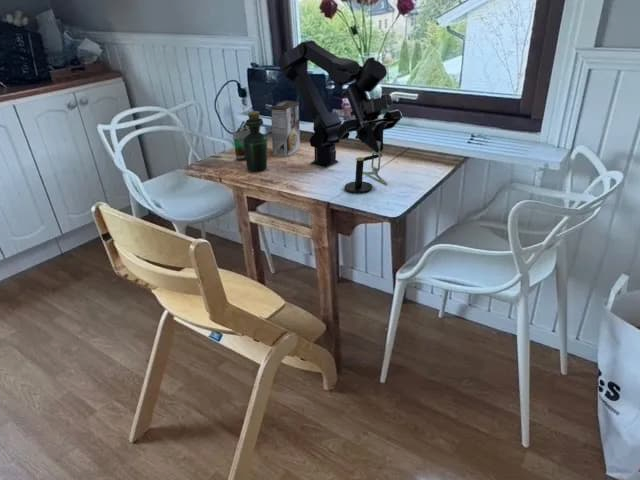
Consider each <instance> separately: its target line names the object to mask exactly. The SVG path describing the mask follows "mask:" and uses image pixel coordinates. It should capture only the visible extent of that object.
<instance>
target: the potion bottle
mask: <svg viewBox="0 0 640 480" xmlns="http://www.w3.org/2000/svg"><path fill="white" fill-rule="evenodd" d="M260 113H261V112H260V111H258V110H252V111H248V112H247V116H248V119H246V120H245V123H246V124H245V125H246V126H248V127H249V129H250V134H248V135H247V136H246V137H244V140H243V144H244V151H245V157H246V160H245V163H246V169H247V171H248V172H251V173H260V172H263V171H266V169H267V167H268V166H267V164H268V163H267V162H268V141H269V140H268V137H267V136H266V135H265V134H264V133H262V132H260V129H261V126H263V125H264V121H263V119H262V118H260Z"/></svg>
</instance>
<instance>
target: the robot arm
mask: <svg viewBox="0 0 640 480" xmlns="http://www.w3.org/2000/svg"><path fill="white" fill-rule="evenodd" d="M309 62H310V63H312V64H314V65H315V66H317V68H320V69H322V70H323V71H324V72H326V73H327V74H328V78H329V80H330V81H332V82H333V84H334V85H336V86H337V87H343V86H346V85H348V86H347V87H345V88H343V91H342V94H341V97H340V98H341V100H345V99H347V100H348V103H349V106H350V108H351V112H350V116H351V117H354V118H352V119H348V120H344V121H342V120H341V118H340V117H339V114H338V112H337V111H332V112H331V111H329V110H328V108H327V106H326V105H325V103H324V101H323V100H322V97H321V95H320V94H319V92H318V90H317V88H316V85H315V84H314V82H313V81H312V78H311V77H310V75H309V73H308V71H309V70H308V69H309ZM278 67H279V69H280V71H281V73H282V74H283V75H284V77H285V78H286V79H288V80H290V81H291V82H293V84H294V85H295V87H296V89H297V91H298V92H299V94H300V96H301V98H302V100H303V102H304V104H305V106H306V109H307V110H308V112H309V114H310V115H311V118H312V119H313V127H312V129H313V132H314V133H313V135H312V136H311V137H310V138H309V145H310V147H312V148H314V160H313V161H311V162H310V164H311V165H313V166H318V167H321V168H328V167H330V166H332V165H335V164H337V163H338V162H339V161H338V160H337V159H336V158H337V150H336V144H340V143H341V142H340V141H344V140H347V139H349V137H350V135H351V134H350V133H352V132H356V136H355V138H354V139H355V140H359V141H360V142H362V143H363V144H365V145H366V146H368V147H369V148H370V149H371V150H372V151H375V152H376V153H377V152H378V151H379V148H378V145H377V142H376V141H380V142H381V144H380V153H381V152H383V151H384V131H386V130H391V129H393V128H394V127H396V125H397V124H398V122H400V121H401V119H402V118H403V114H402V112H401V110H400V109H393V110H388V109H389V107H390V106H392V105H393V98H392V96H391V93H389V92H388V93H384V94H381V96H380V97H376V98H373V97H371V96H370V94H369V93H371V92H373V91H374V90H375V89H376V88H377V87H378V85H380V83H381V82H382V81H383V80H384V79H385V78H386V76H387V73H388V72H387V68H386V66H385V64H383V63H382V62H380V61H378V60H376V59H375V57H374V56H373V57H372V56H371V57H367V59H366V60H365V62H364V63H363V65H360V63H359V62H358V61H357V60H354V59H351V58H347V57H346V58H345V57H339V56H337V55H335V54H334V53H332V52H330V50H327V49H325V48H323V46H320V45H319V44H317V43H316V41H315V40H312V39H309V40H305V41H301V42H300V43H298V44H297V45H296V46H295V47H293V48H291V49H289V50H287V51H286V52H282V53H281V54H280V57H279V59H278ZM385 110H388V111H386V112H385V114H384V115H383V116H382V117H380V116H381V115H382V111H385Z"/></svg>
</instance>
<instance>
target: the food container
mask: <svg viewBox="0 0 640 480" xmlns="http://www.w3.org/2000/svg"><path fill="white" fill-rule="evenodd" d="M245 124H246V122H243V125H242V126H241V127H239V128H238V129H237V131H236V132H235V131H232V140H233V143H234V150H235V151H234V152H235V161H237V162H241V161H246V157H245V151H244V144H243V140H244V137H246V136H247V135H248V134H250V129H249V127H248V126H246V125H245Z"/></svg>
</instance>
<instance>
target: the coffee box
mask: <svg viewBox="0 0 640 480" xmlns="http://www.w3.org/2000/svg"><path fill="white" fill-rule="evenodd" d="M270 112H271V113H270V117H271V118H270V119H271V120H270V121H271V145H272V155H273V156H279V157H286V158H287V157H290V156H291V155H293V154H294V153H295V152H297V151H298V150H300V149H301V145H300V143H301V141H300V101H293V100H282V101H280V102H279V103H276V104H275V105H273V106H271V107H270Z"/></svg>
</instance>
